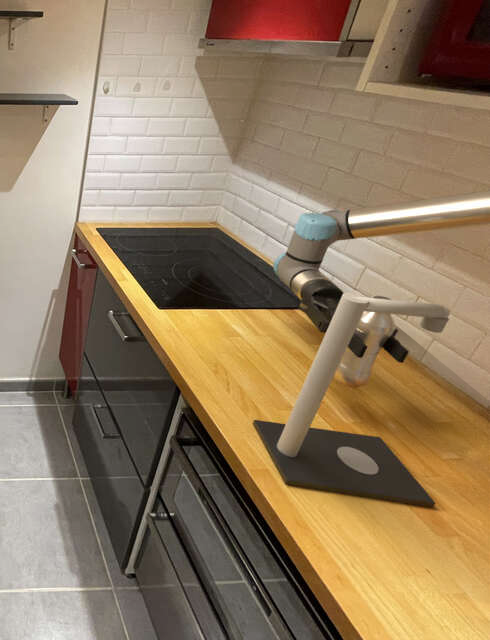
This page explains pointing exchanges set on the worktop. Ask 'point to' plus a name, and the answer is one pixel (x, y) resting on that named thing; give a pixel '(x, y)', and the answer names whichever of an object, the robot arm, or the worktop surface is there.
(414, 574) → the worktop surface
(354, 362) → the plastic bottle
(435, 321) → the tap
